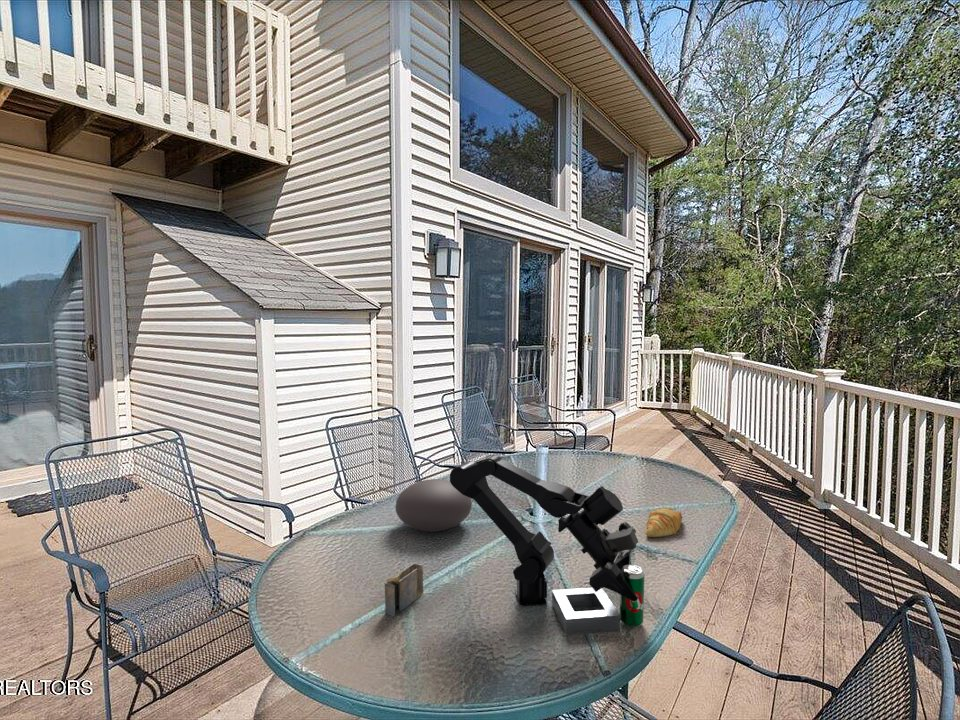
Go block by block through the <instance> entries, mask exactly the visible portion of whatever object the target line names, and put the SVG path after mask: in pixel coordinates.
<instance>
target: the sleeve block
mask: <svg viewBox="0 0 960 720" xmlns="http://www.w3.org/2000/svg"><path fill="white" fill-rule="evenodd" d="M551 605H552V607H553V610H554V612H555V614H556V616H557V619H558V620H559V623H560V625H561V627H562V629H563V631H564V634H565V635H567V636H571V635H581V634H582V635H583V634H594V633H595V634H597V633H608V632H621V620H620V611H618V609H617V608H616V606H615V605H614V603H613V602H612V601H611V599H610V598H609V596H608V594H607V593H606V592H605V590H604V588H601V589H600V590H598V591H597V592H595V591H594V590H593V588H592V587H581V588H580V587H579V588H577V587H576V588H565V589H551ZM591 608H593V609H595V610H582V611H575V609H579V610H580V609H591Z"/></svg>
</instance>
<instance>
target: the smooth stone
mask: <svg viewBox="0 0 960 720" xmlns="http://www.w3.org/2000/svg"><path fill="white" fill-rule="evenodd" d="M472 506H473V502H472V499H471V498H469V497H467V496H465V495H462V494H461V493H460V492H459V491H458V490H457V489H455V488H454V487H453V486H452V484H451V483H450V480H448V479H439V478H433V479H423V480H420V481H417V482H415V483H413V484H411V485H410V484H409V486H408V487H406V488H405V489H403V490H402V492H400V494H399V495H398V497H397V499H396V502H395V507H394V508H395V513H396V515H397V518H399V520H400V521H402V522H403V523H404V524H405V525H406V526H408V527H410V528H412V529H413V530H414V529H415V530H418V531H422V532H429V533H430V532H441V531H447V530H448V529H451V528H454V527H456V526H458V525H459V524H460V525H461V523H462V522H464V521H465V520H466V519H467V517H468V516H469V515H470V513H471V511H472Z"/></svg>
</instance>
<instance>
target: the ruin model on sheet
mask: <svg viewBox="0 0 960 720" xmlns="http://www.w3.org/2000/svg"><path fill="white" fill-rule="evenodd" d="M422 595H424V564H420V563H416V562H413V563H412V564H411V565H409V566H407V567H406V568H405V569H403V570H401V571H400V572H399V573H397V574H396V575H394V576H393V577H392V578H387V579H386V581H385V582H384V609H385V610H384V611H385V614H386V615H388V616H392V617H395V616H396V608H397V606H398V611H399V612H400V613H401V612H402V611H403V610H404V609H405V608H407V606H409V605H410V604H412V603H413V602H414V601H416V600H417V599H419V598H420V597H421V596H422Z"/></svg>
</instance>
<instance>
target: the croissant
mask: <svg viewBox="0 0 960 720" xmlns="http://www.w3.org/2000/svg"><path fill="white" fill-rule="evenodd" d="M682 521H683V515H682V512H679V511H676V510H674V509H672V508H667V507H664V508H657V509H654V510H652V511H651V512H650V513H649V514H648V518H647V523H646V525H645V526H646V527H645V528H646V529H645V530H644V531H645V532H644V533H645V535H646V536H647V537H650V538H661V537H669V536H672V535H673V536H674V535H676V534H677V532H678V531H679V530H680V528H681V524H682Z"/></svg>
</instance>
